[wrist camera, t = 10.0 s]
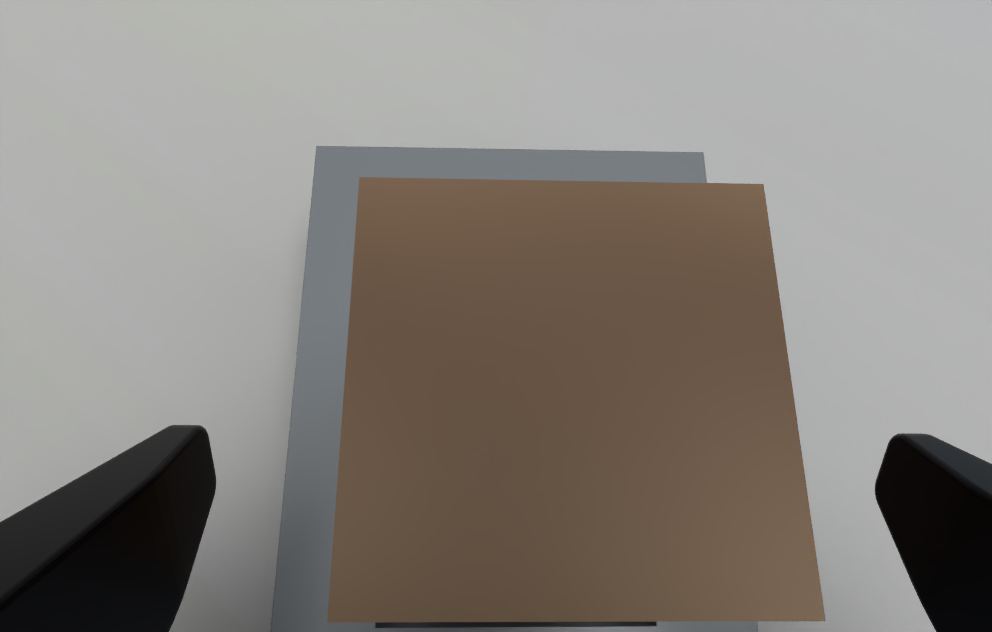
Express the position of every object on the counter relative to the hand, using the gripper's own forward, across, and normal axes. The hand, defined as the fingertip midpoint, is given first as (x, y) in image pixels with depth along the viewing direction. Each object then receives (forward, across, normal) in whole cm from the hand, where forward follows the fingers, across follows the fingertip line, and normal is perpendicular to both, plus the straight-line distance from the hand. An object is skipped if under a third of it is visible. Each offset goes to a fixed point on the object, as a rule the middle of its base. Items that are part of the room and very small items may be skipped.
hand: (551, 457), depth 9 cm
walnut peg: (+7, 0, +6) cm, 9 cm away
